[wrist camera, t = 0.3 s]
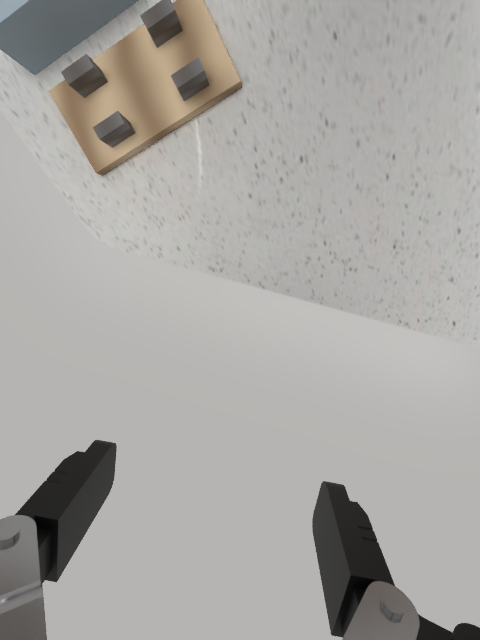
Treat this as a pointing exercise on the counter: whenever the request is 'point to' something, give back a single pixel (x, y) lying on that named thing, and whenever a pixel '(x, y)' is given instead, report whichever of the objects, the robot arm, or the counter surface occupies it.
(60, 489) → the robot arm
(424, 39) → the counter surface
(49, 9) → the blue grey rectangular block
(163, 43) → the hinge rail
